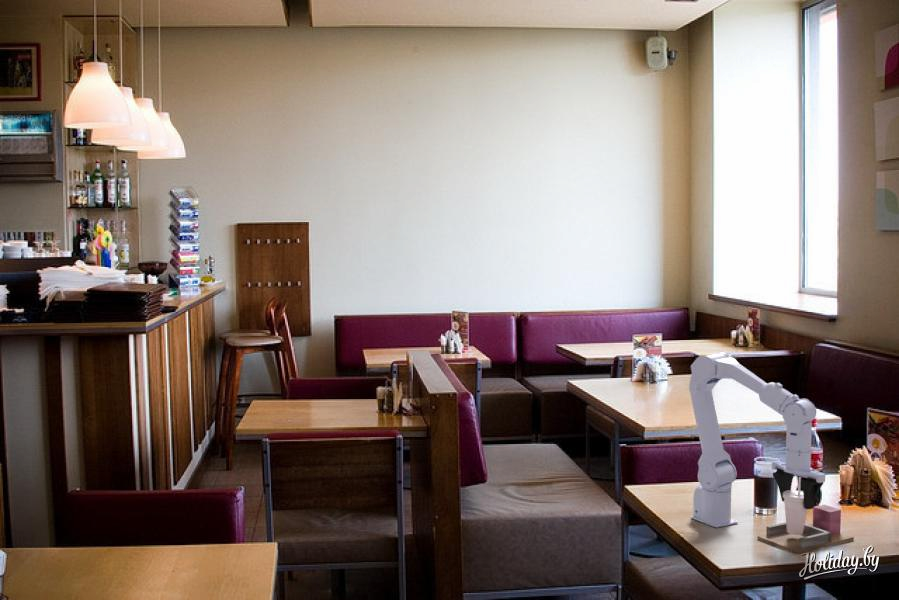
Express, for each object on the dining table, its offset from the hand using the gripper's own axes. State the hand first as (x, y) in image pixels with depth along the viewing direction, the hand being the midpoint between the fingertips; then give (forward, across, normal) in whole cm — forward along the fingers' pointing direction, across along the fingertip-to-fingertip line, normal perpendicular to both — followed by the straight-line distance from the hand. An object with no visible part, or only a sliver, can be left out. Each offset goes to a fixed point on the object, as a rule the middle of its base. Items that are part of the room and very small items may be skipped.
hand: (796, 504), depth 225 cm
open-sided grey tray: (+9, 0, +3) cm, 10 cm away
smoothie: (+7, 0, 0) cm, 7 cm away
